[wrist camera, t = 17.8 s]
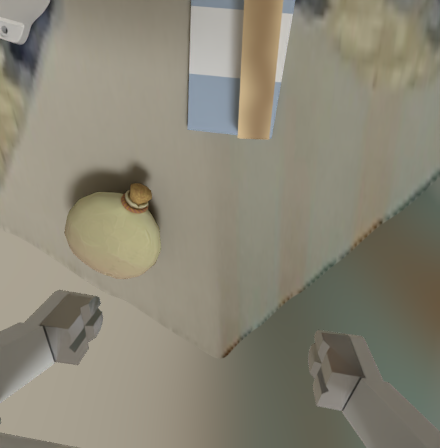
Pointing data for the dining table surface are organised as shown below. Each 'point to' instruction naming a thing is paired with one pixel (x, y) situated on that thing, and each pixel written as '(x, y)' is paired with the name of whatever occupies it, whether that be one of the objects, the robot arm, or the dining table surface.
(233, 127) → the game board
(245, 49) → the light wooden block
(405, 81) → the dining table surface
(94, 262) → the flask
